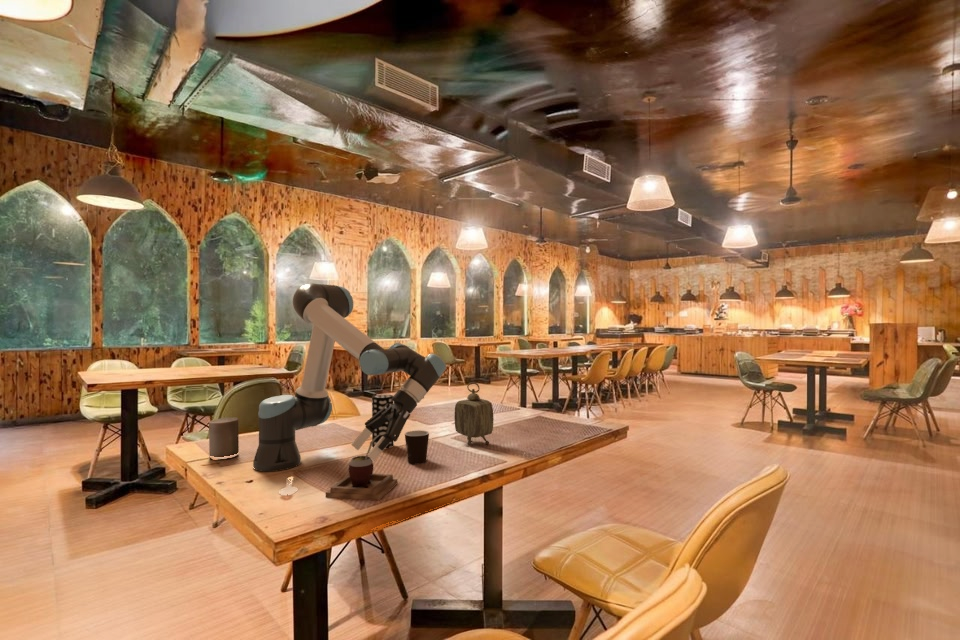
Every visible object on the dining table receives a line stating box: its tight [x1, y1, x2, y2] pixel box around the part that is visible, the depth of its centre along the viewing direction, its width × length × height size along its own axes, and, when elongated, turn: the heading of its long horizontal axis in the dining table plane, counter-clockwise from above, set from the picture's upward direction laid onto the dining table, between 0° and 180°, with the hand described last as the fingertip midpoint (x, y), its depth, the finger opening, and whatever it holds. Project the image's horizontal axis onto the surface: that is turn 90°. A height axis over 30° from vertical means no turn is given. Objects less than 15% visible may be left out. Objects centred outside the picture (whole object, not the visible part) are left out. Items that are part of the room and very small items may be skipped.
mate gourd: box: [347, 434, 380, 488], centre depth 135 cm, size 8×8×15 cm
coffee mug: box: [404, 429, 430, 465], centre depth 164 cm, size 12×9×10 cm
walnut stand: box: [325, 473, 398, 501], centre depth 135 cm, size 16×14×3 cm
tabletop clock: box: [454, 381, 495, 446], centre depth 186 cm, size 14×9×25 cm, turn 45°
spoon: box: [278, 478, 299, 497], centre depth 139 cm, size 5×18×1 cm, turn 19°
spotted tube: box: [371, 394, 394, 449], centre depth 184 cm, size 8×8×20 cm
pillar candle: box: [208, 416, 240, 457], centre depth 171 cm, size 10×10×15 cm
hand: (362, 452), depth 135 cm, fingers open, 13 cm apart
